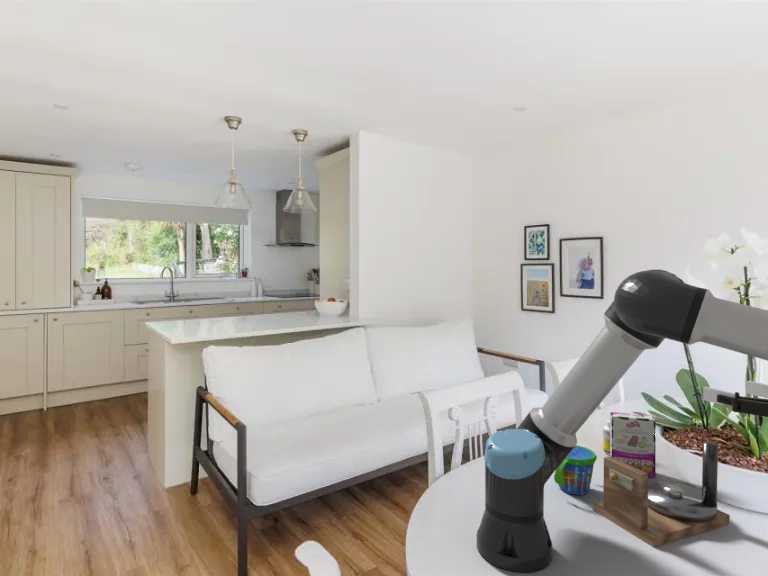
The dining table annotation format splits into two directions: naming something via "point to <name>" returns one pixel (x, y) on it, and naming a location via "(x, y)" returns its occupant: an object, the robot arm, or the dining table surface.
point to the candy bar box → (633, 440)
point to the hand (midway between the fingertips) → (725, 390)
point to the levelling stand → (643, 507)
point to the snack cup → (576, 471)
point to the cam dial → (689, 492)
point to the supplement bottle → (606, 438)
